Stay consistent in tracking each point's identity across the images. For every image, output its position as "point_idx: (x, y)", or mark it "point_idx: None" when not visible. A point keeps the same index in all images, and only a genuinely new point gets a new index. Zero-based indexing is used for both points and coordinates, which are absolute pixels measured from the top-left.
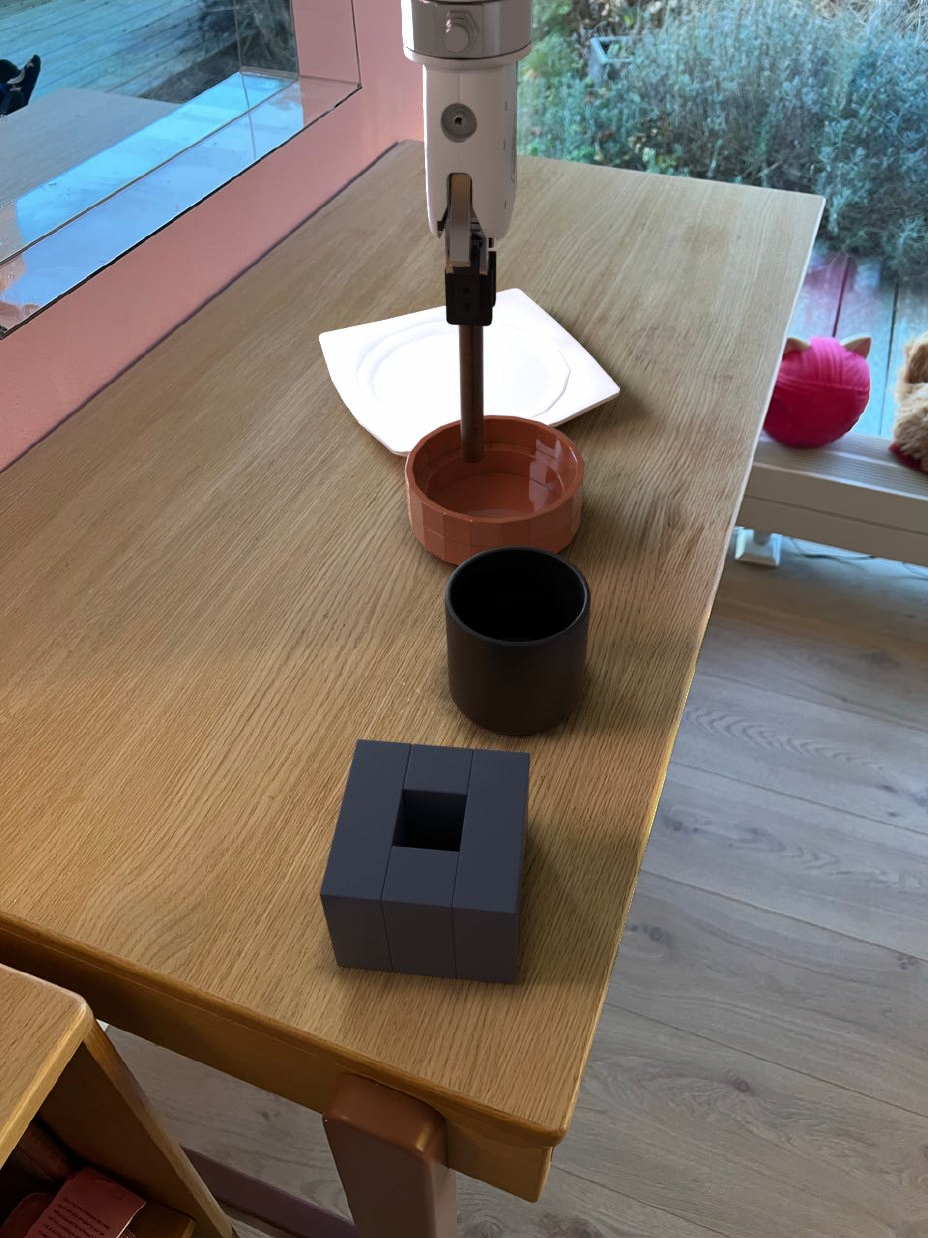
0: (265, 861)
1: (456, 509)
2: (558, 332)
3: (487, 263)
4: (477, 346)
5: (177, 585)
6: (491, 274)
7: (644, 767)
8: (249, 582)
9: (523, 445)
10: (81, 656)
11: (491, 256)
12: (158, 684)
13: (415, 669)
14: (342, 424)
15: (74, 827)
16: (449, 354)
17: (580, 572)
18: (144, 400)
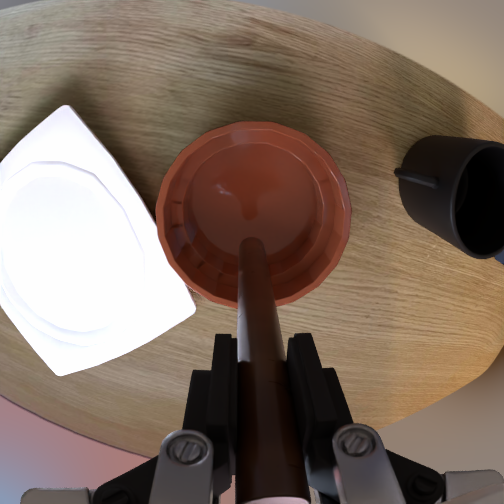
0: (499, 298)
1: None
2: None
3: (336, 443)
4: (277, 322)
5: None
6: (336, 414)
7: (482, 108)
8: (331, 366)
9: (173, 191)
10: (377, 412)
11: (229, 426)
12: (403, 378)
13: (418, 250)
14: None
15: (464, 371)
16: (32, 275)
17: (479, 146)
18: (151, 443)
